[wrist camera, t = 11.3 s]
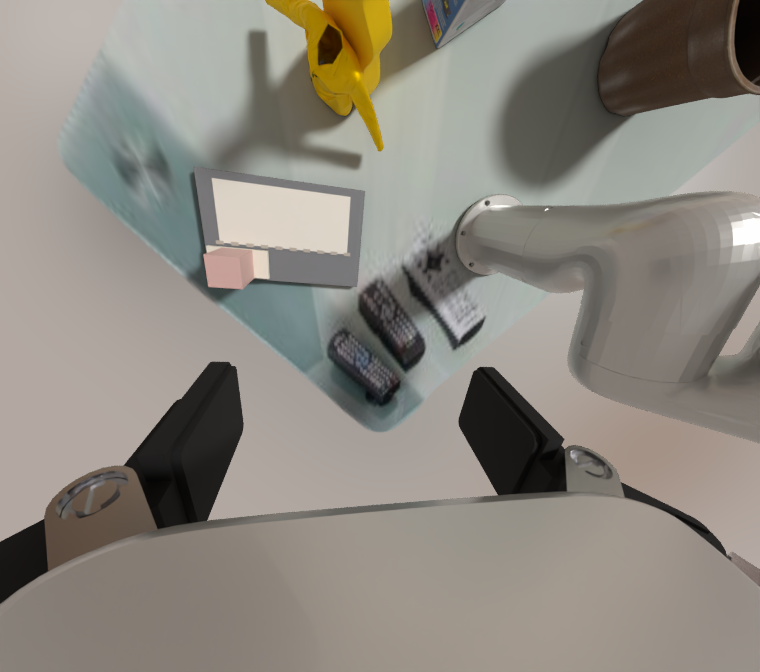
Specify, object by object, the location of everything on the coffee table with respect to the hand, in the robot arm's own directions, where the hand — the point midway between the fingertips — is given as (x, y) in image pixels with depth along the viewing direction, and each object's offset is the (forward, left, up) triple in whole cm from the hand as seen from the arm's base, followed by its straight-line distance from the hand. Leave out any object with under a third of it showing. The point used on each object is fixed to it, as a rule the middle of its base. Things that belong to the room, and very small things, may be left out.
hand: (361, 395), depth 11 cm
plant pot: (-40, -30, -37) cm, 62 cm away
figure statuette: (+1, -21, -37) cm, 42 cm away
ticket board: (+8, -2, -36) cm, 37 cm away
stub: (+14, +3, -34) cm, 37 cm away
